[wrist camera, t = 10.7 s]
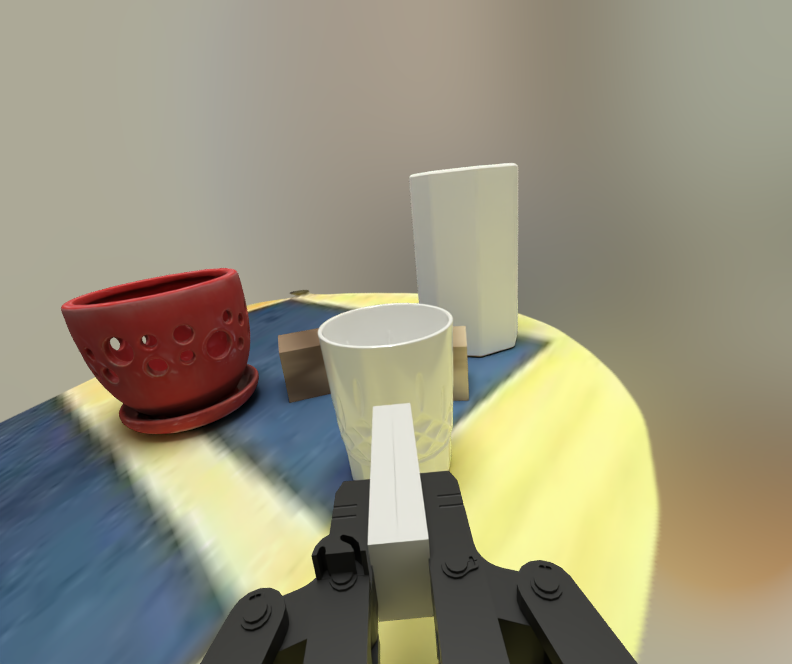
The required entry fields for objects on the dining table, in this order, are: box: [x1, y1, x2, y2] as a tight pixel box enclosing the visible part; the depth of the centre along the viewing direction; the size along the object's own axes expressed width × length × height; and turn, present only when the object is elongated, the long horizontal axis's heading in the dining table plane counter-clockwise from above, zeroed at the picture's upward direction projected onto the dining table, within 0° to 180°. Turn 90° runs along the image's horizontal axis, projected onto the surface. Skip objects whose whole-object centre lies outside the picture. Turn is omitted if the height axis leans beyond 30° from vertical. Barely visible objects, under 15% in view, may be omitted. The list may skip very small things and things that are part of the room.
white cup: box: [318, 303, 453, 481], centre depth 25 cm, size 8×8×10 cm
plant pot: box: [61, 268, 259, 434], centre depth 35 cm, size 13×13×12 cm
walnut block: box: [278, 328, 331, 403], centre depth 38 cm, size 5×5×5 cm
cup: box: [409, 163, 518, 357], centre depth 43 cm, size 11×11×18 cm
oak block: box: [453, 326, 469, 401], centre depth 35 cm, size 5×5×5 cm
